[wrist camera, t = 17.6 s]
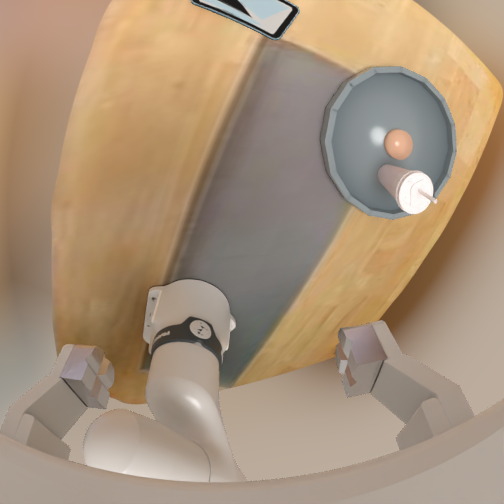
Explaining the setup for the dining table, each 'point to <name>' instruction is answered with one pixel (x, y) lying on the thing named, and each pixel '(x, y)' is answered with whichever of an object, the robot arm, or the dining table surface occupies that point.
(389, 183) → the smoothie
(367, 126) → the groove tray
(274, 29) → the smartphone
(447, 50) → the dining table surface
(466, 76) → the dining table surface
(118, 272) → the dining table surface
